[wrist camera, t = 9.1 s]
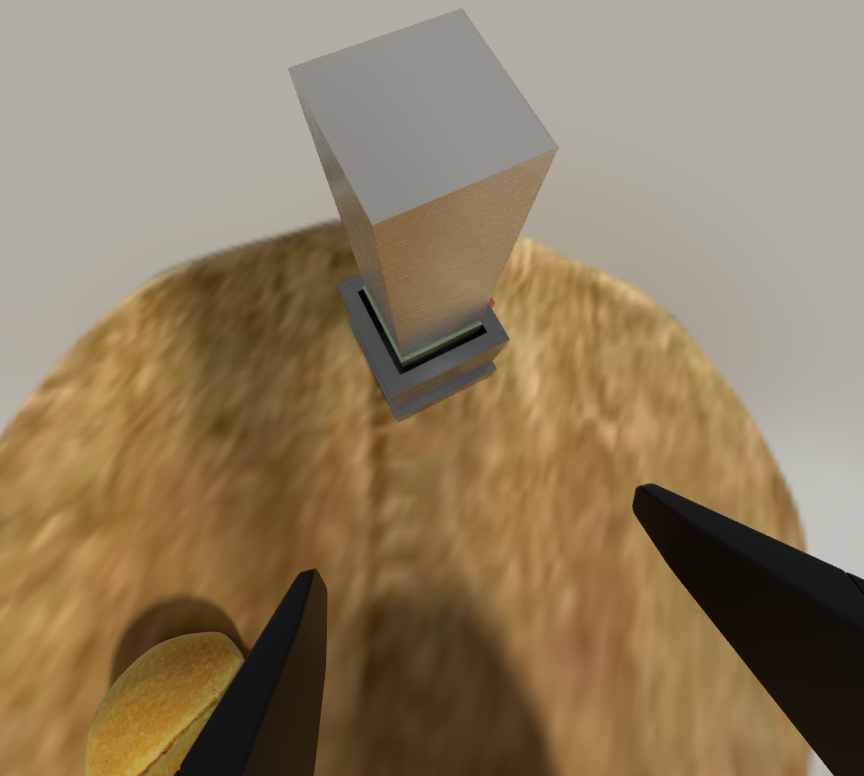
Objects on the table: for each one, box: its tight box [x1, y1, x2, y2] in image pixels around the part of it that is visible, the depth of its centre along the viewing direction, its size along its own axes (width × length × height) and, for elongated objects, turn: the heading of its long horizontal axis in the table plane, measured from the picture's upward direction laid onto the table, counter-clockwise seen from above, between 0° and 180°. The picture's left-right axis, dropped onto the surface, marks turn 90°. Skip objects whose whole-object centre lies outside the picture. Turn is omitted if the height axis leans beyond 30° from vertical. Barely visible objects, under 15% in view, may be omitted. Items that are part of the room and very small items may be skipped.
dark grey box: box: [336, 274, 510, 422], centre depth 19 cm, size 7×7×7 cm
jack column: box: [288, 8, 558, 372], centre depth 12 cm, size 4×4×11 cm
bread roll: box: [85, 632, 245, 776], centre depth 16 cm, size 8×9×4 cm
